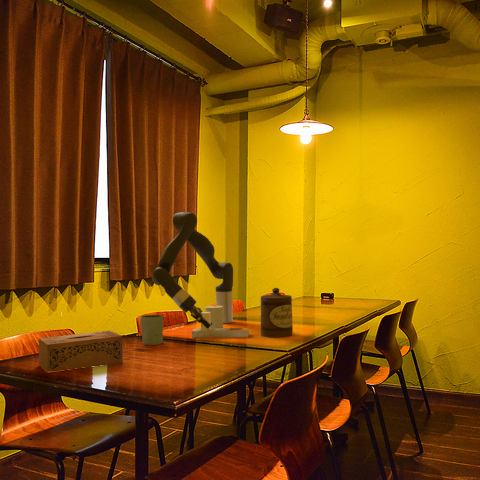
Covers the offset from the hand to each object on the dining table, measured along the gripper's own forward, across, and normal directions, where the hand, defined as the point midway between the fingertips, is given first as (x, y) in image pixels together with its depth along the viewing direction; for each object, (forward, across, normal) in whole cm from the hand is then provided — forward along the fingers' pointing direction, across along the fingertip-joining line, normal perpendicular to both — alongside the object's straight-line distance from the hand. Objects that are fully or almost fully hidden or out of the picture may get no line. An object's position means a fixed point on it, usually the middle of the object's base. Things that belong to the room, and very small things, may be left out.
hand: (210, 326), depth 224 cm
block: (+2, 0, +5) cm, 5 cm away
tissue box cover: (-23, -56, +30) cm, 68 cm away
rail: (+7, 0, 0) cm, 7 cm away
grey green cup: (-13, -17, +20) cm, 29 cm away
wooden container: (+25, +3, -19) cm, 32 cm away
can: (+3, +19, +4) cm, 20 cm away
